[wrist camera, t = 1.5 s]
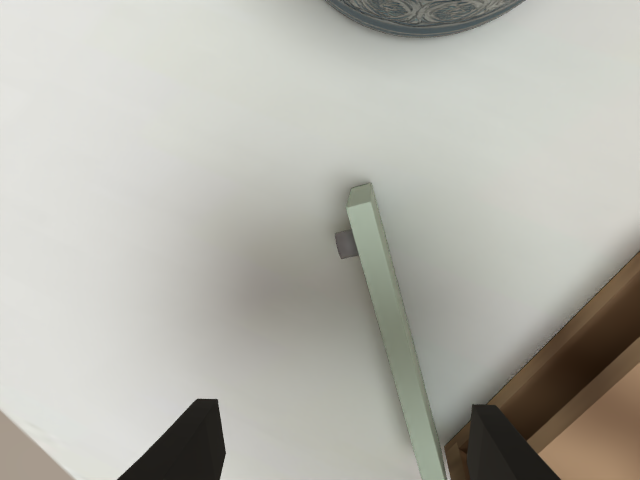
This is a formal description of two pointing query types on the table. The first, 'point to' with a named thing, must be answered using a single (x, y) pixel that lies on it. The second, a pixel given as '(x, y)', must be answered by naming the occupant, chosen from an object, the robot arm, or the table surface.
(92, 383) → the table surface
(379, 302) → the door
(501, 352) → the table surface
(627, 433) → the cabinet
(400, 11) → the canister
